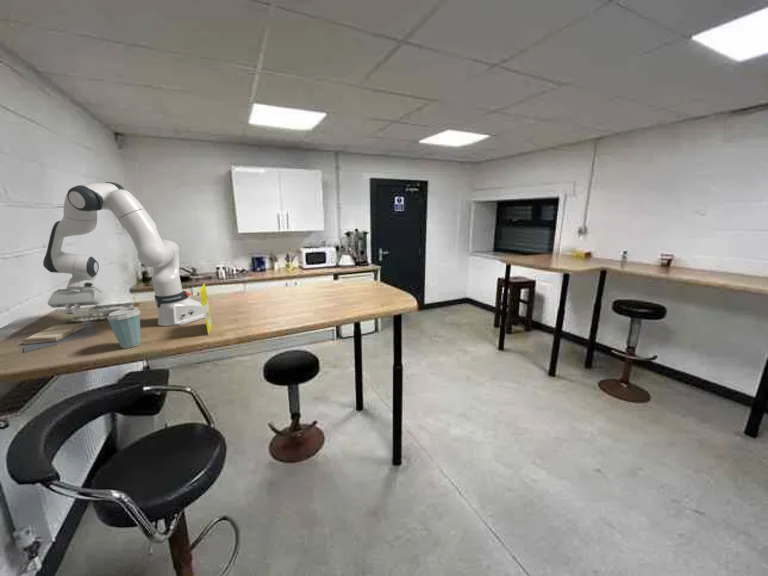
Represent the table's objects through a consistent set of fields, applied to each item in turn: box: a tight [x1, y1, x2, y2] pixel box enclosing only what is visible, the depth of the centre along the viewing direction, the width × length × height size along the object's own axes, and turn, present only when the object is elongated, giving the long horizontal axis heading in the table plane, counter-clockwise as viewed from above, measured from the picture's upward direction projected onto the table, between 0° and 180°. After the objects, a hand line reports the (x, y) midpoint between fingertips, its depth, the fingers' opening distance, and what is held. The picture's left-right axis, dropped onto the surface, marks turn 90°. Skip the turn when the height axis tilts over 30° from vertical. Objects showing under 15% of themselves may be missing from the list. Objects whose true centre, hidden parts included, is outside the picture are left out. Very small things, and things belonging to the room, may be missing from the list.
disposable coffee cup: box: [106, 306, 142, 349], centre depth 131 cm, size 11×11×15 cm
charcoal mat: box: [23, 320, 97, 353], centre depth 145 cm, size 22×26×1 cm
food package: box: [199, 282, 213, 336], centre depth 144 cm, size 15×1×20 cm, turn 22°
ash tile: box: [22, 322, 84, 345], centre depth 143 cm, size 2×12×16 cm
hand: (70, 313), depth 152 cm, fingers closed
